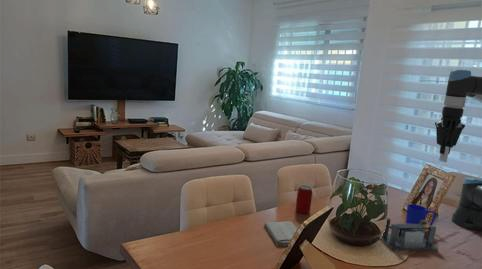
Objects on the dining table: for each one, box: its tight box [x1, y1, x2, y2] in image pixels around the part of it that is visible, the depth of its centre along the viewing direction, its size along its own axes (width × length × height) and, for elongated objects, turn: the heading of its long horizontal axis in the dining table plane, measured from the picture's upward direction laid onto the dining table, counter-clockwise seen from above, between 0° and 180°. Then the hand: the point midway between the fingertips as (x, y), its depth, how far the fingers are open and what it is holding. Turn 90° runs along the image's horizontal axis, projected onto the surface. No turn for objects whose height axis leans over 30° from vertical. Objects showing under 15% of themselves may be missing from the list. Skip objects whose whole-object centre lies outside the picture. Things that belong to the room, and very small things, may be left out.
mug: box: [405, 203, 437, 226], centre depth 158 cm, size 8×12×10 cm
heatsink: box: [380, 217, 439, 251], centre depth 143 cm, size 20×12×9 cm, turn 99°
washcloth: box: [263, 220, 298, 247], centre depth 140 cm, size 12×18×3 cm, turn 14°
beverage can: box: [295, 185, 313, 214], centre depth 166 cm, size 7×7×12 cm
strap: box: [387, 222, 430, 230], centre depth 142 cm, size 19×4×1 cm, turn 99°
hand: (442, 161), depth 152 cm, fingers closed
